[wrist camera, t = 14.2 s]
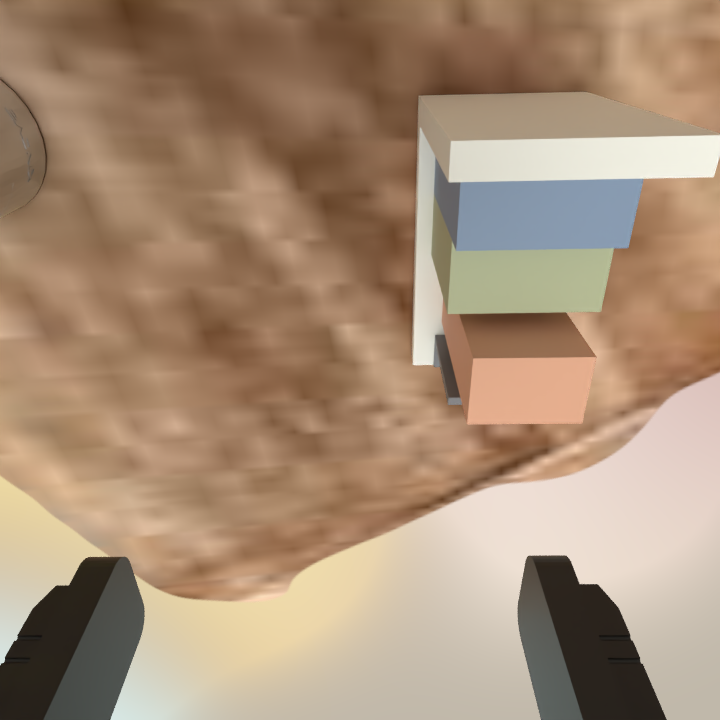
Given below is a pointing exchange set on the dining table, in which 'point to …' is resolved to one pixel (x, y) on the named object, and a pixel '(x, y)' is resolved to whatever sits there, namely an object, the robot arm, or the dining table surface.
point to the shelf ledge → (538, 159)
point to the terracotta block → (519, 367)
